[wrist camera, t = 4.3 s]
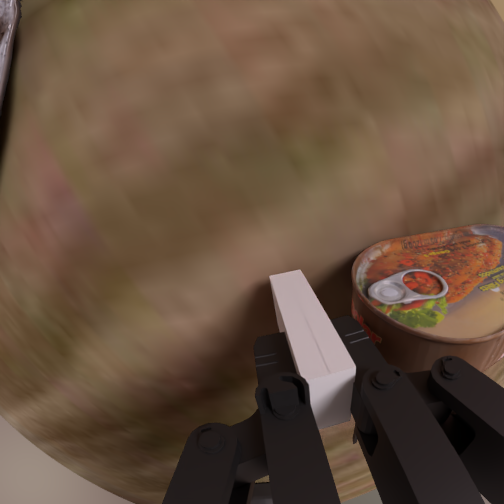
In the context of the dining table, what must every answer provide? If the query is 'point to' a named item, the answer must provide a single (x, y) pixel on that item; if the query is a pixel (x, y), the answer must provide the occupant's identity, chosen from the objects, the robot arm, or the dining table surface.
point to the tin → (433, 297)
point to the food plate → (7, 40)
